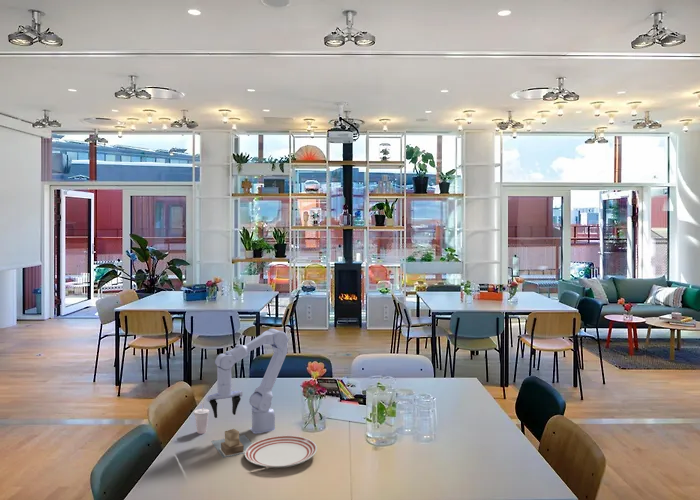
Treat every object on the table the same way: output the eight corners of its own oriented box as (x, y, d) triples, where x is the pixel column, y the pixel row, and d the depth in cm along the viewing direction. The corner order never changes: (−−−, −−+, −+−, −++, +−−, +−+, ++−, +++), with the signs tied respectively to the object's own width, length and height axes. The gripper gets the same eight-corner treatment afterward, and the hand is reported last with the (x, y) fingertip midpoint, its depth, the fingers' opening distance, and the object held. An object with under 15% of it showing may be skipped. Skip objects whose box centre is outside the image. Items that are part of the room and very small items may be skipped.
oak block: (234, 441, 211) (233, 428, 210) (239, 444, 208) (239, 431, 207) (224, 443, 208) (224, 431, 208) (230, 447, 205) (229, 434, 205)
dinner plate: (257, 480, 184) (257, 470, 184) (236, 450, 208) (236, 442, 208) (328, 464, 197) (329, 455, 197) (301, 438, 221) (301, 430, 221)
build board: (244, 436, 223) (244, 434, 223) (258, 451, 208) (258, 450, 208) (211, 442, 217) (211, 441, 217) (223, 459, 201) (223, 457, 201)
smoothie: (205, 436, 223) (205, 403, 222) (191, 435, 224) (191, 402, 224) (212, 431, 229) (212, 399, 229) (198, 430, 231) (198, 398, 230)
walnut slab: (238, 445, 212) (238, 439, 212) (243, 451, 206) (243, 445, 206) (221, 449, 209) (220, 442, 209) (225, 455, 203) (225, 449, 203)
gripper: (238, 378, 227) (239, 409, 227) (204, 383, 220) (205, 415, 220) (243, 382, 220) (244, 414, 221) (208, 387, 213) (209, 420, 214)
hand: (224, 415), depth 220 cm, fingers open, 7 cm apart
